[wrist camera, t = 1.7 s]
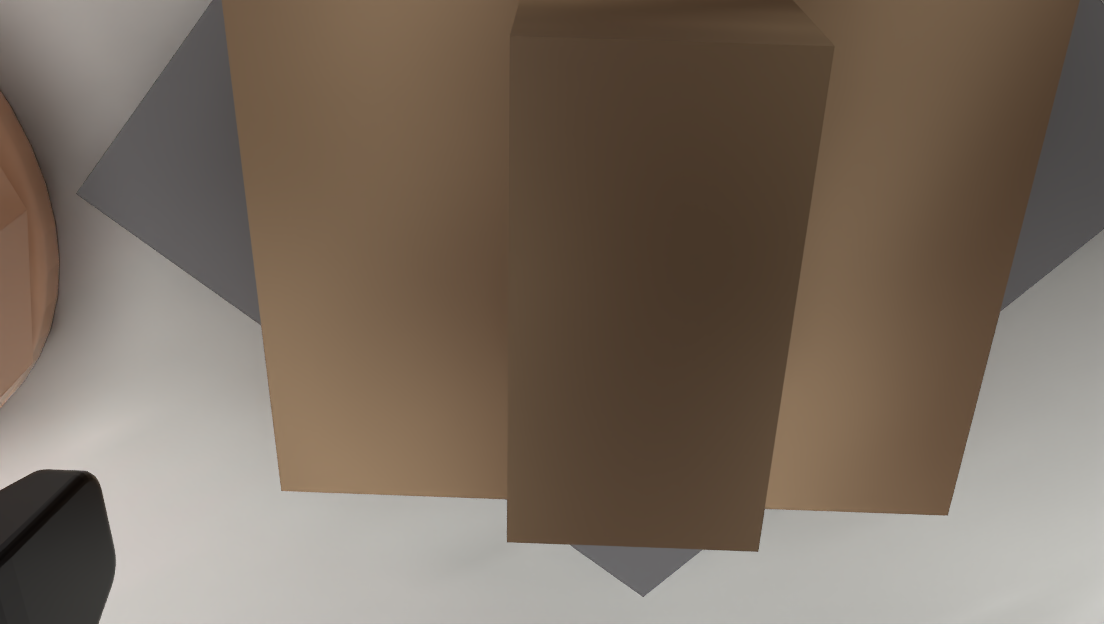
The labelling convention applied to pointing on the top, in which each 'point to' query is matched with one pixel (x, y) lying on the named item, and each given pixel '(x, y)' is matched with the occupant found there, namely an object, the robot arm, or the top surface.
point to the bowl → (23, 256)
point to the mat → (223, 227)
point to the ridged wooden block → (636, 249)
